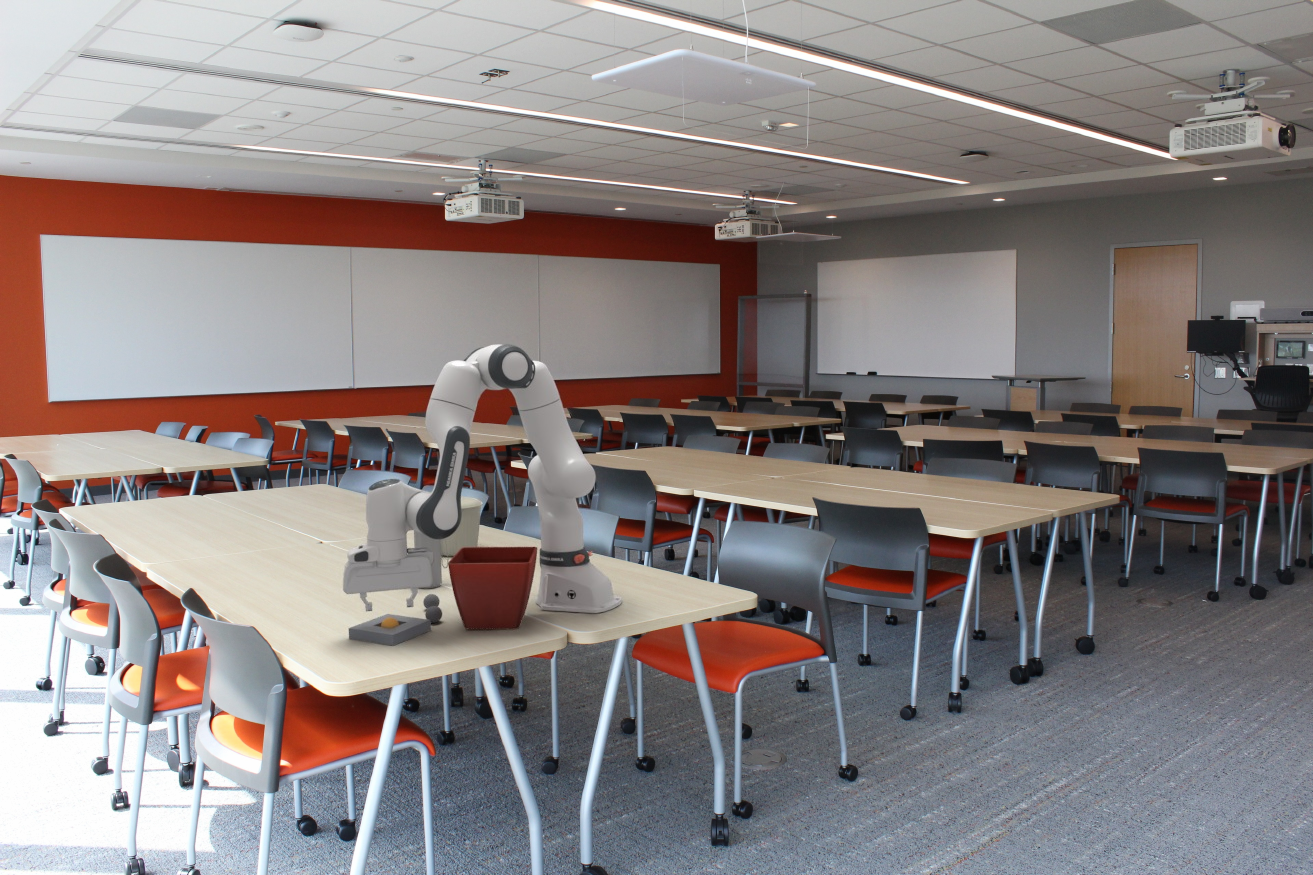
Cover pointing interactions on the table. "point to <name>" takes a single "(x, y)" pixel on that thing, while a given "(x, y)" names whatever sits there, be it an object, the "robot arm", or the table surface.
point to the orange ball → (390, 623)
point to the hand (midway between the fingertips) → (389, 608)
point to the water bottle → (435, 546)
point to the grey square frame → (389, 630)
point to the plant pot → (492, 585)
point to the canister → (464, 528)
